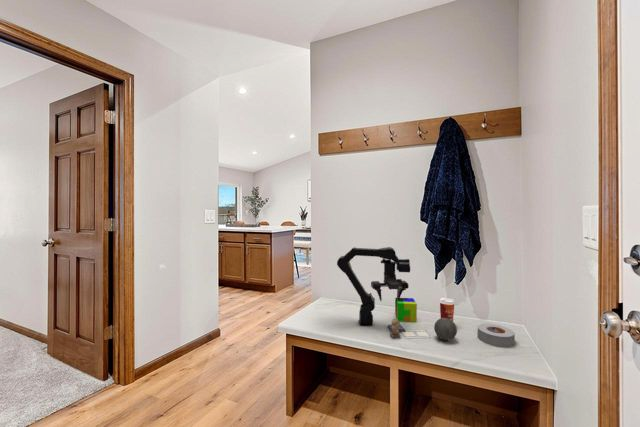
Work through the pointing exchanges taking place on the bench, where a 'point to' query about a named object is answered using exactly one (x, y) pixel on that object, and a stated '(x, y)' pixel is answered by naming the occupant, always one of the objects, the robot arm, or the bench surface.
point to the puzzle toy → (406, 310)
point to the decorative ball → (445, 329)
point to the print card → (416, 334)
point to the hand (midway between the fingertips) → (389, 300)
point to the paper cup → (447, 308)
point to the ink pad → (399, 328)
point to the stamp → (395, 330)
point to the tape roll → (496, 335)
